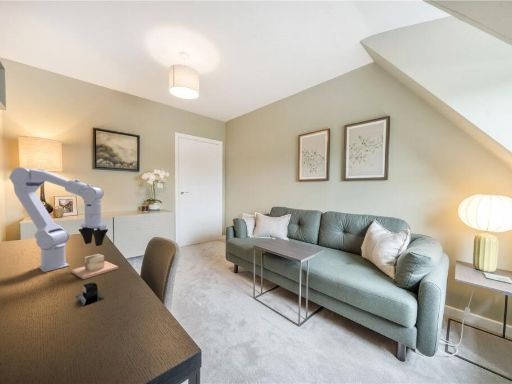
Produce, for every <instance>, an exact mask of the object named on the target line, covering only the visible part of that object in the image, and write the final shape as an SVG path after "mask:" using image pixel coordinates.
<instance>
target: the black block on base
mask: <svg viewBox="0 0 512 384" xmlns="http://www.w3.org/2000/svg"><path fill="white" fill-rule="evenodd" d="M75 297H76V299H77V301H78V302H79V304H80V305H81V306H82V307H86V306H89V305H91V304H95V303H97V302H101V301H103V300H105V297H104V295H102V294H101V293H100V291H99V289H98V284H97V283H96V282H95V281H92V282H89V283H84V284H82V293H81V294H78V295H75Z"/></svg>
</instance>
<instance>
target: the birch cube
mask: <svg viewBox="0 0 512 384" xmlns="http://www.w3.org/2000/svg"><path fill="white" fill-rule="evenodd" d="M104 261H105V255H103V254H101V253H96V254H93V255H88V256H85V257H84V266H85V269H86V270H88V271H90V272H91V271H94V270H98V269H101V268H104Z"/></svg>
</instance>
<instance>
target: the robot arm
mask: <svg viewBox="0 0 512 384" xmlns="http://www.w3.org/2000/svg"><path fill="white" fill-rule="evenodd" d="M8 178H9V180H10V181H11V183H12V184H13V191H14V193H15V196H16V197H17V199H18V200H19V202H20V203H21V205H22V206H23V208H24V209H25V211H26V213H27V214H28V216H29V217H30V219H31V220H32V222H33V224H34V225H35V227H36V229H37V230H36V232H35V234H34V238H35V239H36V244H37V246H38V247H39V248H40V250H41V251H40V263H41V264H40V265H38V266H37V268H38V269H40V270H41V271H42V272H44V273H46V272H50V271H55V270H57V269H62V268H65V267H69V266H70V264H69V263H67V262H66V261H67V260H66V245H67V242H68V241H69V240H70V237H71V236H70V233H69V232H68V231H67V230H66V229H65V228H63V226H62V225H60V224H57V223H55V221H54V220H53V218H52V216H51V215H50V213H49V211H48V210H47V208H46V207H45V205H44V203H43V202H42V200H41V199H40V197H39V196H38V194H37V190H39V189H40V188H41V186H43V184H45V182H46V183H50V184H53V185H57V186H59V187H63V188H64V190H65V191H66V192H68V193H70V194H73V195H76V196H79V197H81V199H82V200H83V203H84V222H81V223H80V228H79V229H78V232H79V233H80V234H81V236H82V239H83V242H84V244H85V245H89V244H92V242H93V237H94V244H95V246H96V247H99V246H102V245H103V243H104V239H105V236H106V235H107V232H108V231H109V229H108V228H107V224H104V223H102V198H103V196H104V194H105V193H104V190H103V189H102V188H100V187H99V186H92V184H90V183H88V184H87V183H84V182H82V180H80V179H78V178H77V179H70V180H69V179H67V178H65V177H62V176H59V175H58V174H55V173H53V172H50V171H48V170H44V169H41V168H37V169H36V168H28V167H27V168H26V167H19V166H18V167H16V168H14V169H13V170H12V171H11V173H10V175H9V177H8Z"/></svg>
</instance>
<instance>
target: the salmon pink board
mask: <svg viewBox="0 0 512 384" xmlns="http://www.w3.org/2000/svg"><path fill="white" fill-rule="evenodd" d="M118 269H119V266H118V265H116V264H113V263H112V262H109V261H106V260H104V268H101V269H98V270H94V271H91V272H90V271H88V270H86V269H85V265H84V266H80V267H77V268H73V269H71V273H72V274H73V275H76V277H79V278H80V279H82V280H85V279H89V278H92V277H96V276H99V275H102V274H105V273H109V272H112V271H115V270H118Z"/></svg>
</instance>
